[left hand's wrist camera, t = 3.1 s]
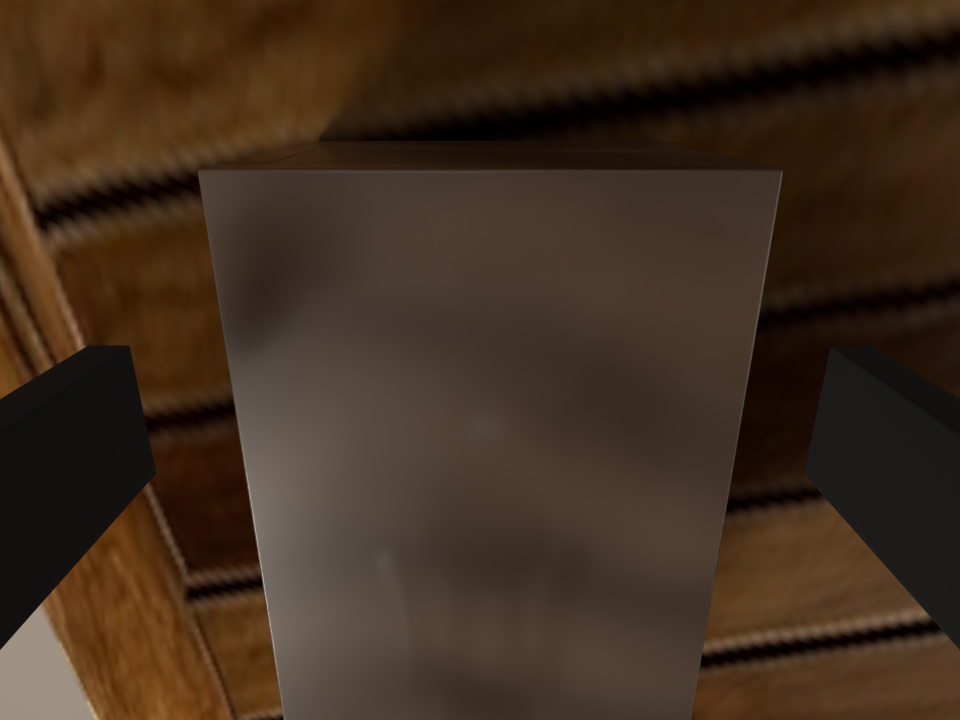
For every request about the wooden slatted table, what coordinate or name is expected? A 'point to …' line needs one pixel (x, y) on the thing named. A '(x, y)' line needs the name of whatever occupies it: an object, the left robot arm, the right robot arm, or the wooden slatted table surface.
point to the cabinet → (489, 415)
